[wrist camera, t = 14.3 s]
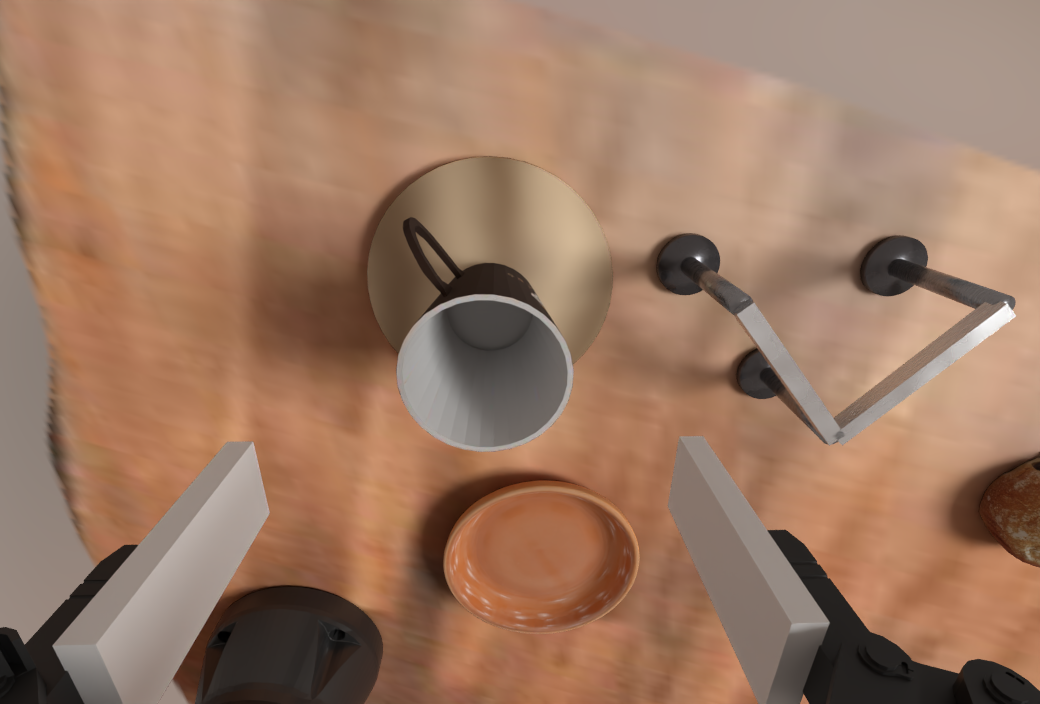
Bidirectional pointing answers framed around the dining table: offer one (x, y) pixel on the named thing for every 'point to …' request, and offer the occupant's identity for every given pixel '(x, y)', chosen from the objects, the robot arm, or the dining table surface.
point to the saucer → (541, 557)
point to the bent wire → (883, 272)
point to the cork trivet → (494, 244)
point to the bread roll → (1015, 511)
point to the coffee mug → (482, 357)
